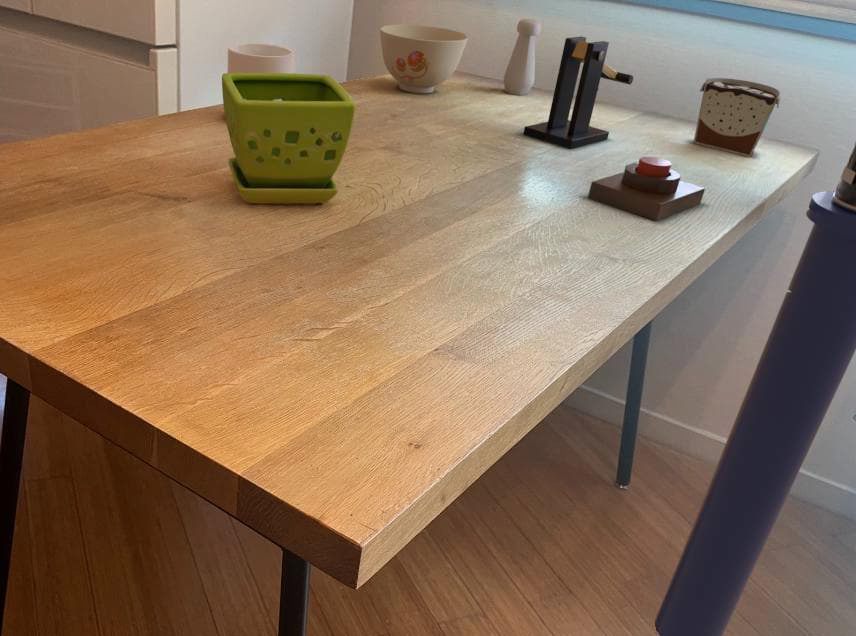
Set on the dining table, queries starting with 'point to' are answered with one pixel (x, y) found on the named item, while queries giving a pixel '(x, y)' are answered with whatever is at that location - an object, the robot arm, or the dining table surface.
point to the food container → (734, 114)
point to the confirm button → (654, 166)
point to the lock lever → (607, 70)
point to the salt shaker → (522, 59)
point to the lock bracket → (578, 128)
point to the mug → (260, 59)
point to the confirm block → (646, 193)
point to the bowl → (421, 55)
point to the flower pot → (286, 135)
